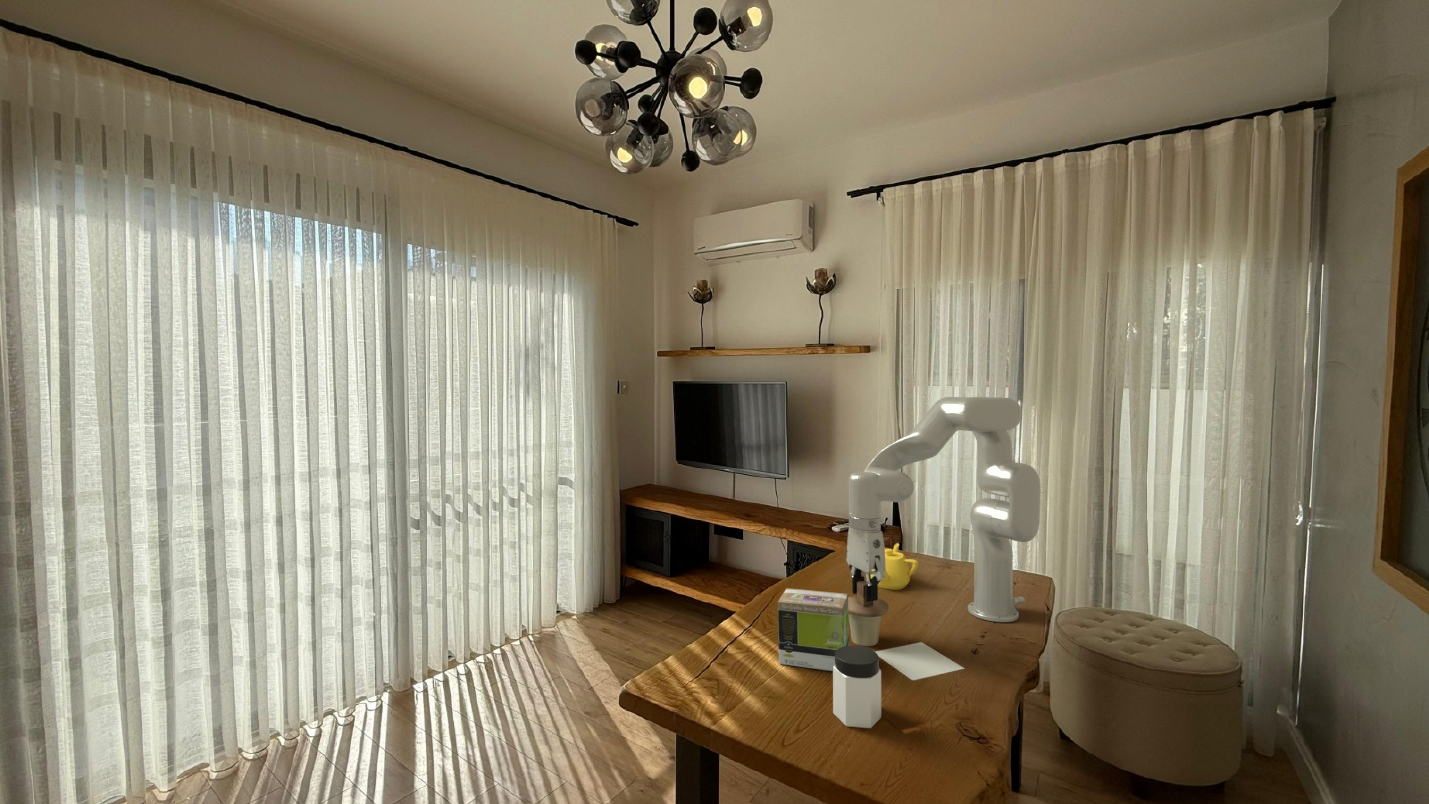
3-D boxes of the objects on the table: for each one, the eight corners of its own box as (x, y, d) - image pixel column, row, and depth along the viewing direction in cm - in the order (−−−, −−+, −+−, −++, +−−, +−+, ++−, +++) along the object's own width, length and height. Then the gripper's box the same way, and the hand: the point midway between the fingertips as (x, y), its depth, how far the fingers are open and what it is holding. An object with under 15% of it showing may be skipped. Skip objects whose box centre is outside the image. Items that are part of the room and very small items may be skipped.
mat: (921, 644, 141) (921, 642, 141) (964, 671, 128) (964, 668, 128) (872, 654, 136) (872, 652, 136) (912, 683, 123) (912, 680, 123)
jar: (848, 698, 117) (848, 640, 117) (886, 713, 112) (886, 652, 112) (826, 718, 111) (826, 656, 110) (866, 735, 105) (866, 670, 105)
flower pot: (886, 653, 137) (886, 616, 137) (845, 649, 139) (845, 614, 139) (883, 636, 146) (883, 602, 146) (844, 633, 148) (844, 599, 148)
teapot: (910, 599, 171) (910, 563, 170) (858, 590, 179) (858, 555, 178) (925, 577, 189) (926, 545, 189) (878, 570, 198) (878, 538, 197)
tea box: (849, 654, 137) (849, 592, 136) (844, 675, 127) (844, 608, 127) (786, 646, 141) (786, 585, 141) (777, 665, 132) (776, 600, 131)
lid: (871, 597, 149) (871, 573, 149) (898, 613, 139) (898, 587, 139) (833, 603, 146) (833, 578, 146) (858, 619, 135) (858, 593, 135)
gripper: (899, 529, 135) (899, 607, 136) (857, 514, 151) (857, 583, 152) (872, 532, 132) (872, 611, 133) (832, 517, 148) (832, 587, 149)
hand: (864, 596), depth 142 cm, fingers open, 4 cm apart
